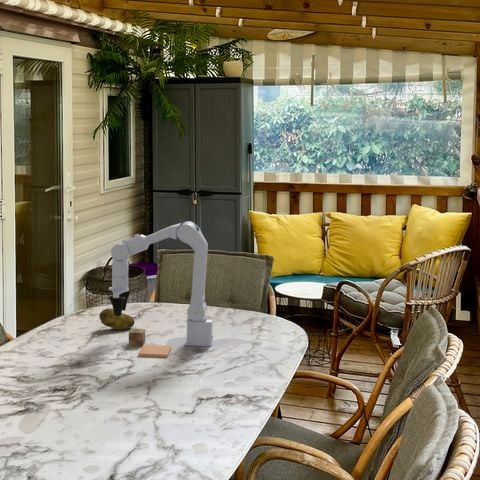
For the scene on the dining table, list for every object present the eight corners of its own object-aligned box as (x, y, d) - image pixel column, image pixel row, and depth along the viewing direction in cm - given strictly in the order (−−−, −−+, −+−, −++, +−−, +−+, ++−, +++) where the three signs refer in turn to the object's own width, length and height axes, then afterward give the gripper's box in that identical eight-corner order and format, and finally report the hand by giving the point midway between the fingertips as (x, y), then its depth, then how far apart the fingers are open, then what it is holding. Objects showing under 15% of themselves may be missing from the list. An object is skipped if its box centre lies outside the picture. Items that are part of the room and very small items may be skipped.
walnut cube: (145, 342, 269) (145, 329, 268) (142, 346, 264) (142, 332, 263) (131, 341, 269) (131, 328, 269) (128, 346, 264) (128, 332, 264)
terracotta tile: (171, 348, 262) (171, 346, 262) (167, 357, 252) (167, 354, 252) (143, 347, 263) (143, 344, 263) (138, 356, 253) (138, 353, 253)
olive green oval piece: (132, 332, 281) (132, 311, 280) (97, 331, 281) (97, 310, 280) (135, 326, 289) (135, 306, 288) (102, 325, 289) (102, 305, 288)
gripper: (113, 271, 275) (113, 307, 277) (104, 279, 260) (104, 317, 262) (132, 272, 274) (132, 308, 276) (124, 280, 260) (124, 318, 262)
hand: (120, 312), depth 269 cm, fingers open, 7 cm apart
